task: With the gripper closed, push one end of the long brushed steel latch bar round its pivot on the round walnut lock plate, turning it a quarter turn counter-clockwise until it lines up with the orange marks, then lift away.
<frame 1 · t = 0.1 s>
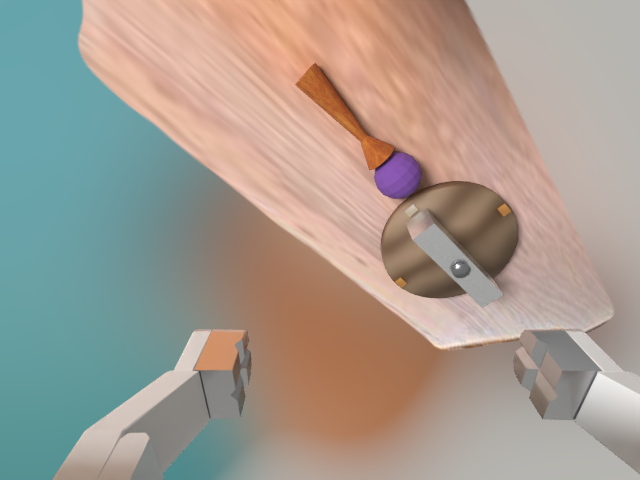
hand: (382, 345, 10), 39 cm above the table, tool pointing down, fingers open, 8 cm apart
latch bar: (455, 260, 50), point 5 cm above the table, hinge at 0.0°
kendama: (360, 131, 46), on the table
lock plate: (444, 241, 54), on the table
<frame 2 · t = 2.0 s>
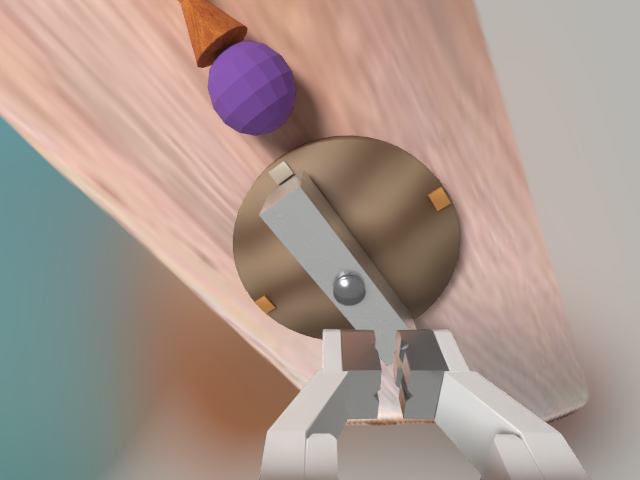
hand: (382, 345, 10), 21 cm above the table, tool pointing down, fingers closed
latch bar: (347, 274, 28), point 5 cm above the table, hinge at 0.0°
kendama: (197, 0, 25), on the table
lock plate: (344, 244, 33), on the table
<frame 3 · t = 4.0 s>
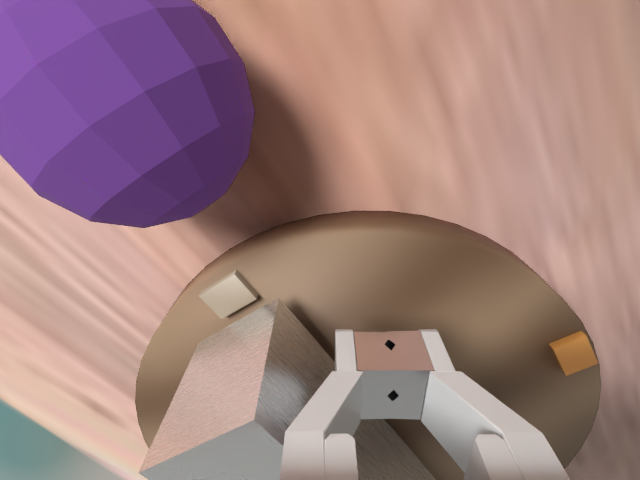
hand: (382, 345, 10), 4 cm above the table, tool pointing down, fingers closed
lock plate: (358, 396, 17), on the table
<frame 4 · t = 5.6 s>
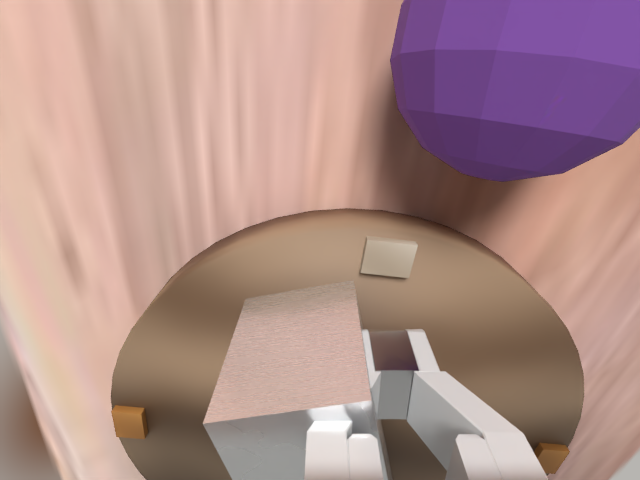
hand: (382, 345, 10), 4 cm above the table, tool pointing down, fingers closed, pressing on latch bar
lock plate: (342, 399, 17), on the table
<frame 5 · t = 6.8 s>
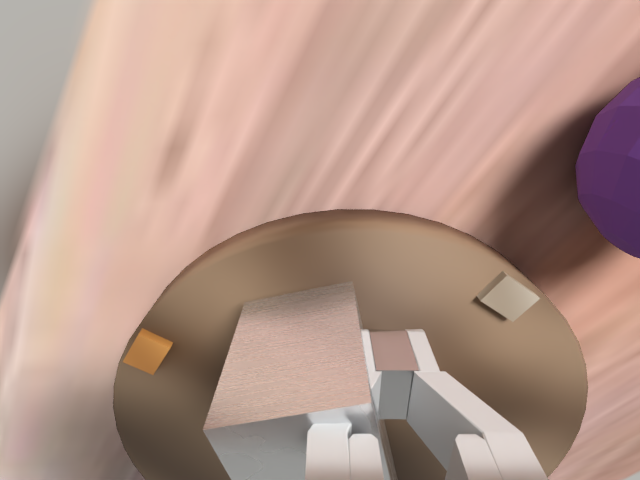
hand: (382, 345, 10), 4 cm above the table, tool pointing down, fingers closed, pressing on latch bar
lock plate: (345, 400, 17), on the table
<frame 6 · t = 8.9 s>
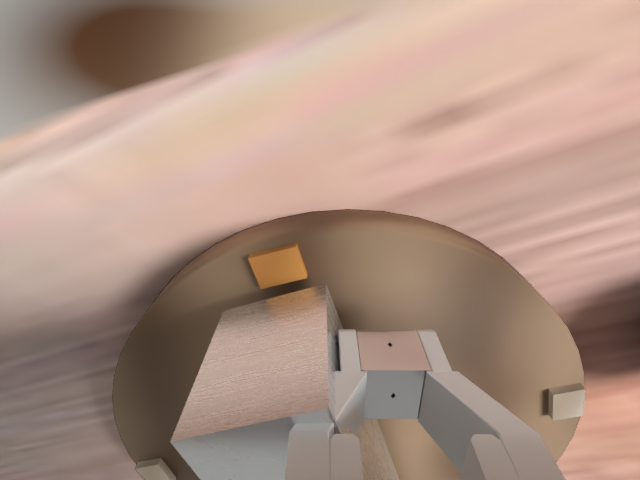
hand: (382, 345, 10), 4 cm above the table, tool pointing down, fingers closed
lock plate: (343, 398, 17), on the table
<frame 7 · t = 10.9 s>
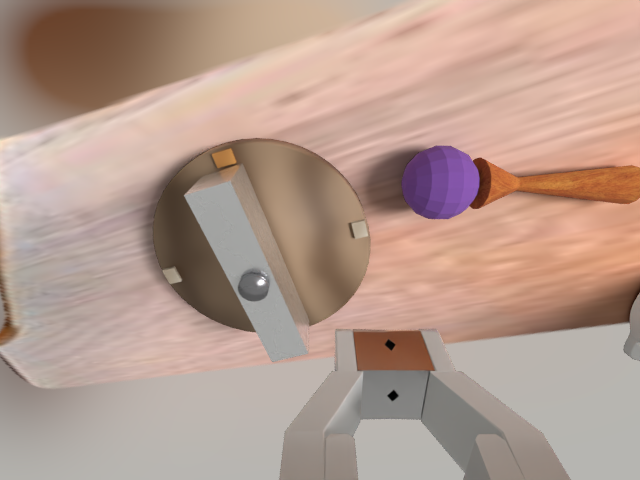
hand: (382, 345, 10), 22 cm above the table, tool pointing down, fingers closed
latch bar: (257, 271, 29), point 5 cm above the table, hinge at 92.1°
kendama: (504, 174, 31), on the table
lock plate: (265, 242, 34), on the table
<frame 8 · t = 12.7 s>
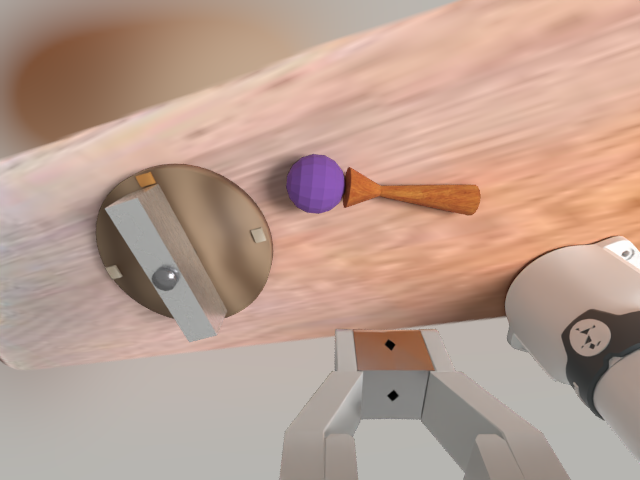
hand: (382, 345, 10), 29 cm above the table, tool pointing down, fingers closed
latch bar: (173, 268, 37), point 5 cm above the table, hinge at 92.1°
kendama: (378, 183, 39), on the table
lock plate: (190, 245, 42), on the table
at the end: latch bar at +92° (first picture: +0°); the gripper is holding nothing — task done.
